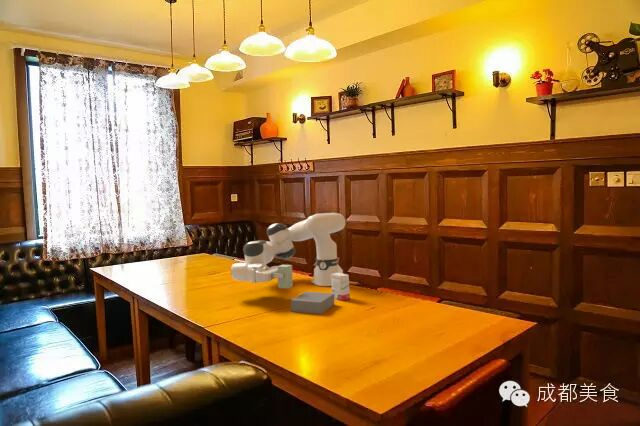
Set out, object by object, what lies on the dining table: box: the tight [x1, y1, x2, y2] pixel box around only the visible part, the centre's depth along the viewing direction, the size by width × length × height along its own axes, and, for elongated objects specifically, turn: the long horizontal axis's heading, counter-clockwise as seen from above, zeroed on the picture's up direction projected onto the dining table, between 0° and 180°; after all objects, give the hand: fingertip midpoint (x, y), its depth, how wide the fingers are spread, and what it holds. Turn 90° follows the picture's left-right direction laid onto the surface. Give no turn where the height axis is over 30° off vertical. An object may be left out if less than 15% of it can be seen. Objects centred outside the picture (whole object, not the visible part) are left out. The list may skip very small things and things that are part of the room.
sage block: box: [277, 264, 294, 289], centre depth 207 cm, size 5×5×10 cm
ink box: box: [331, 272, 351, 301], centre depth 212 cm, size 9×5×12 cm, turn 33°
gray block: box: [290, 291, 335, 315], centre depth 197 cm, size 16×14×5 cm
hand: (286, 274), depth 207 cm, fingers closed on sage block, 5 cm apart
